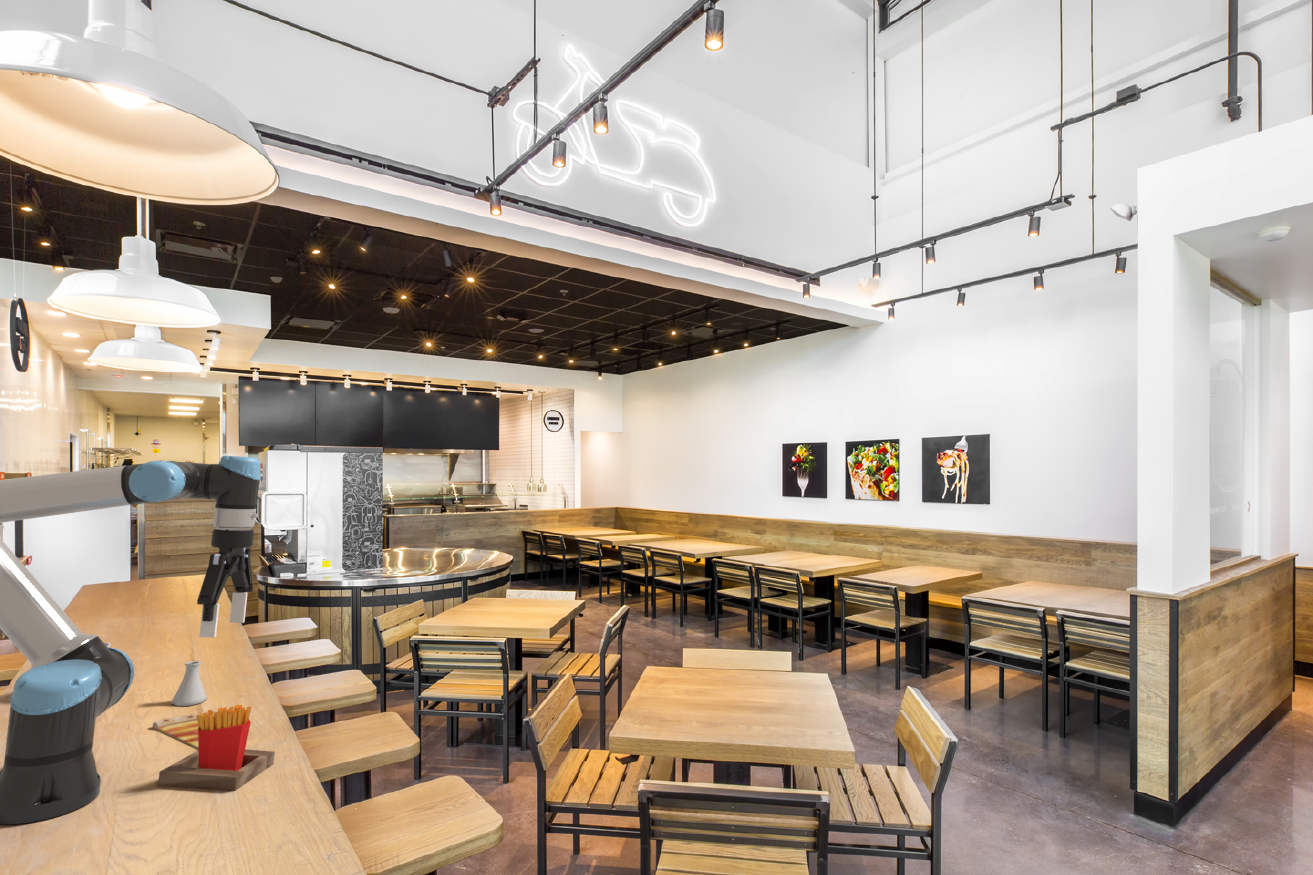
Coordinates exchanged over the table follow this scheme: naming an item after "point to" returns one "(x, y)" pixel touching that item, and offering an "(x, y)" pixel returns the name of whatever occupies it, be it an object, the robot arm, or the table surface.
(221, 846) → the table surface
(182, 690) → the flask
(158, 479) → the robot arm
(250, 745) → the table surface
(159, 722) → the pizza slice
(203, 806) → the table surface
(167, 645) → the table surface
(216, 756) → the french fries
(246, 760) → the fry holder
